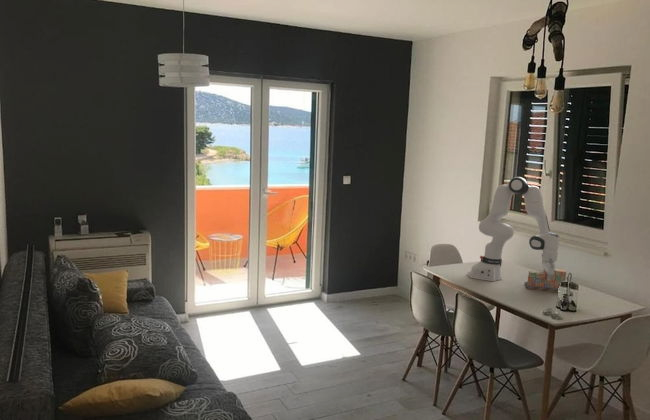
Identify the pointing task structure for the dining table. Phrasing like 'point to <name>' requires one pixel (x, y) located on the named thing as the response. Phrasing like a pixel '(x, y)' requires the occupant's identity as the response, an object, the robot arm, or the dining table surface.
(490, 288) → the dining table surface
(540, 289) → the grey flat slab
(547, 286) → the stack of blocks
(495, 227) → the robot arm
